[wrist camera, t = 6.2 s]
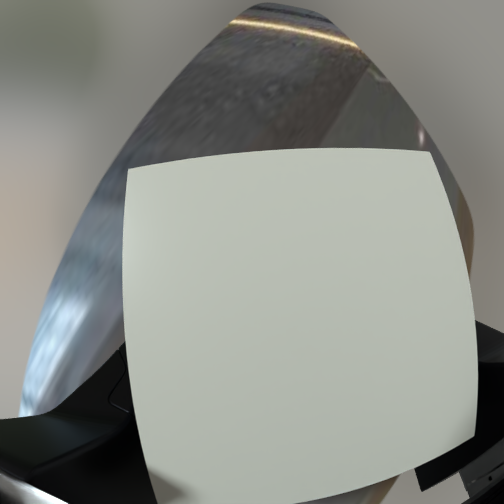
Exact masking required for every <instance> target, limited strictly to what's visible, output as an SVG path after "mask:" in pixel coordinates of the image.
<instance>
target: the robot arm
mask: <svg viewBox="0 0 504 504" xmlns="http://www.w3.org/2000/svg"><path fill="white" fill-rule="evenodd" d="M475 327H476V339H477V357H478V395H477V412H476V424H475V433H474V436H473V437H472V438H470V439H468V440H467V441H465V442H464V443H462V444H460V445H458V446H457V447H455V448H453V449H451V450H450V451H448V452H446V453H444V454H442V455H440V456H438V457H436V458H434V459H432V460H430V461H428V462H426V463H424V464H422V465H420V466H418V467H415V468H414V469H415V472H416V476H417V479H418V483H419V486H420V489H421V491H422V492H423V491H425V490H427V489H429V488H431V487H433V486H435V485H436V484H438V483H440V482H442V481H444V480H446V479H447V478H449V477H451V476H453V475H454V474H456V473H458V472H459V473H460V476H461V478H462V481H463V483H464V487H465V489H466V491H468V494H469V497H470V498H469V499H468V500H466V501H465V502H463V503H462V504H504V333H501V332H500V331H498V330H495V329H493V328H491V327H489V326H487V325H485V324H482V323H480V322H478V321H476V320H475ZM0 504H158V503H157V500H156V497H155V493H154V490H153V487H152V484H151V480H150V477H149V473H148V469H147V465H146V462H145V458H144V454H143V449H142V445H141V441H140V436H139V431H138V426H137V421H136V416H135V410H134V404H133V398H132V392H131V385H130V378H129V370H128V361H127V351H126V341H125V342H124V343H123V344H122V345H121V346H120V347H119V350H116V351H115V352H114V353H113V355H112V356H111V357H110V358H109V359H108V360H107V361H106V362H105V363H104V364H103V365H102V366H101V367H100V368H99V369H98V370H97V371H96V372H95V373H94V374H93V375H92V376H90V377H89V378H88V379H87V380H86V381H85V382H84V383H83V384H82V385H81V386H80V387H78V388H77V389H76V390H75V391H74V392H73V393H72V394H71V395H70V396H68V397H67V398H66V399H65V400H64V401H63V402H62V403H61V404H59V405H58V406H57V407H56V408H54V409H53V410H51V411H49V412H47V413H44V414H41V415H35V416H27V417H19V418H11V419H0Z"/></svg>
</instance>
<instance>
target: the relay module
mask: <svg viewBox="0 0 504 504" xmlns="http://www.w3.org/2000/svg"><path fill="white" fill-rule="evenodd" d="M123 310H124V327H125V340H126V351H127V361H128V370H129V378H130V385H131V392H132V398H133V404H134V410H135V416H136V421H137V426H138V431H139V436H140V441H141V445H142V449H143V454H144V458H145V462H146V465H147V469H148V473H149V477H150V480H151V484H152V487H153V490H154V493H155V497H156V500H157V503H158V504H294V503H300V502H305V501H311V500H316V499H320V498H325V497H329V496H333V495H337V494H341V493H345V492H349V491H352V490H356V489H359V488H362V487H365V486H369V485H372V484H375V483H377V482H380V481H383V480H386V479H389V478H391V477H394V476H396V475H399V474H401V473H404V472H406V471H408V470H411V469H413V468H415V467H418V466H420V465H422V464H424V463H426V462H428V461H430V460H432V459H434V458H436V457H438V456H440V455H442V454H444V453H446V452H448V451H450V450H451V449H453V448H455V447H457V446H458V445H460V444H462V443H464V442H465V441H467V440H468V439H470V438H472V437H473V436H474V433H475V424H476V412H477V395H478V357H477V339H476V327H475V317H474V309H473V302H472V295H471V289H470V283H469V278H468V272H467V267H466V263H465V258H464V254H463V250H462V245H461V241H460V238H459V234H458V230H457V227H456V223H455V220H454V217H453V213H452V210H451V207H450V204H449V201H448V198H447V195H446V192H445V189H444V187H443V184H442V181H441V179H440V176H439V173H438V171H437V168H436V166H435V164H434V161H433V159H432V156H431V154H430V152H424V151H411V150H395V149H371V148H313V149H287V150H270V151H257V152H245V153H234V154H225V155H216V156H207V157H200V158H192V159H185V160H179V161H172V162H166V163H160V164H154V165H148V166H143V167H138V168H133V169H128V177H127V187H126V198H125V211H124V229H123Z"/></svg>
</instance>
